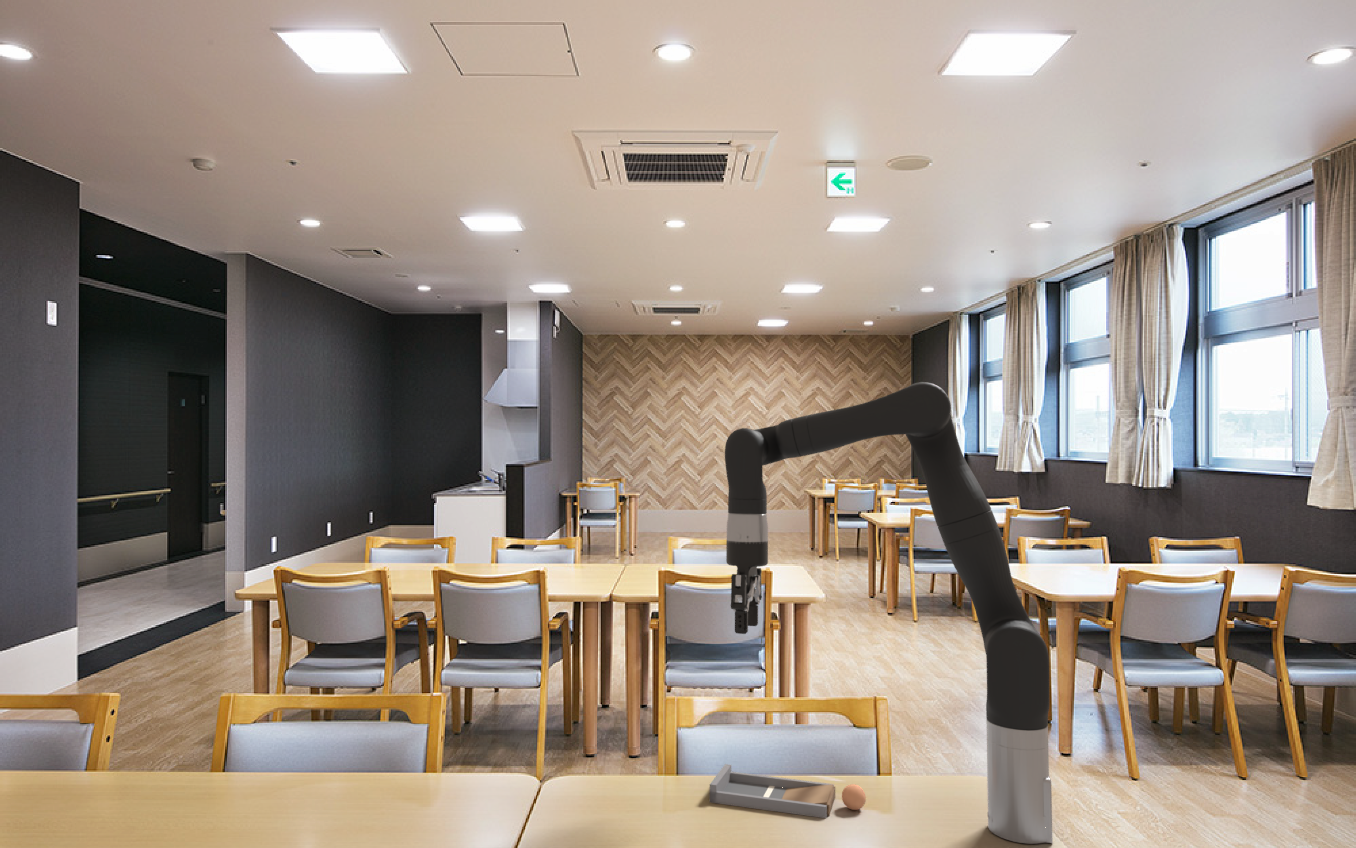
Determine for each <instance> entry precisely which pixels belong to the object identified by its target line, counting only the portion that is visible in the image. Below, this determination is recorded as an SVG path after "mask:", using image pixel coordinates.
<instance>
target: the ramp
mask: <svg viewBox="0 0 1356 848" xmlns="http://www.w3.org/2000/svg"><path fill="white" fill-rule="evenodd" d="M830 784H831V785H820V786H809V787H798V788H788V789H786V791H785V793H784V795H783V797H782V799H784V800H791V801H799V802H806V803H814V804H822V805H827V816H828V817H830V814H831V812H832V809H833V807H834V806H833V805H834V803H835V801H836V800H835V799H836V786H835V785H834V786H833V784H834V783H830Z"/></svg>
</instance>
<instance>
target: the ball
mask: <svg viewBox="0 0 1356 848" xmlns="http://www.w3.org/2000/svg"><path fill="white" fill-rule="evenodd" d="M866 798H867V796H866V793H865V791H864V789H863V788H862V787H861V786H860V785H858V784H853V783H851V784H847V785H846V786H845V787H844V788H843V790H842V792H841V799H842V803H843V804H844V805H845V807H846V808H847V809H849V810H851V811H858V810H860V809H862V808H863V807H864V805H865V804H866V800H867V799H866Z"/></svg>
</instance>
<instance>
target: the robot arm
mask: <svg viewBox="0 0 1356 848" xmlns="http://www.w3.org/2000/svg"><path fill="white" fill-rule="evenodd" d="M896 435H897V436H898V435H905V436H906V438H907V440H908V442H909V444H910V446H911V447H912V449H913V452H914V454H915V456H916V459H917V461H918V462H919V465H920V469H921V470H922V474H923V478H924V481H925V485H926V491H927V497H928V499H929V503H930V506H931V511H932V513H933V514H932V515H933V517H934V520H935V523H936V527H937V529H938V531H939V534H940V536H941V539H942V542H943V545H944V546H945V549H946V552H947V555H948V556H949V559H950V560H951V562H952V565H953V567H954V568H955V571H956V573H957V574H958V576H959V578H960V579H961V581H962V583H963V585H964V587H965V588H966V591H967V592H968V594H969V597H970V599H971V602H972V604H973V607H974V610H975V614H976V617H977V620H978V621H977V622H978V623H979V628H980V632H981V637H982V640H983V648H984V651H985V656H986V658H985V659H986V703H985V707H986V708H985V711H986V713H985V715H986V716H985V717H986V718H985V719H986V720H985V721H986V724H985V725H986V767H987V768H986V774H987V775H986V778H987V779H986V781H987V783H986V784H987V785H986V786H987V827H988V830H989V832H991V833H992V834H994V835H995V836H997V837H999V838H1001V839H1004V840H1007V841H1010V842H1014V843H1018V844H1019V843H1021V844H1028V845H1029V844H1030V845H1033V844H1042V843H1048V844H1052V843H1053V842H1054V841H1053V802H1052V801H1053V799H1052V779H1051V778H1050V762H1049V760H1050V758H1049V757H1050V755H1049V711H1050V657H1049V650H1048V647H1047V645H1046V642H1045V640H1044V639H1043V638H1042V636H1041V634H1040V633H1039V632H1038V630H1037V629H1036V627H1035V626H1034V624H1033V622H1032V620H1031V619H1030V617H1029V615H1028V613H1027V611H1026V609H1025V607H1024V605H1023V602H1022V601H1021V598H1020V597H1019V595H1018V592H1017V590H1016V588H1015V585H1014V582H1013V577H1012V574H1011V569H1010V564H1009V560H1008V556H1007V555H1008V554H1007V550H1006V547H1005V543H1004V540H1003V536H1002V534H1001V530H1000V528H999V525H998V523H997V520H996V518H995V515H994V513H993V510H992V508H991V506H990V503H989V500H988V499H987V496H986V494H985V493H984V491H983V489H982V487H981V485H980V483H979V482H978V479H977V477H976V476H975V475H974V473H973V471H972V469H971V467H970V466H969V465H968V463H967V460H966V458H965V456H964V453H963V452H962V450H961V447H960V443H959V439H958V436H957V434H956V430H955V426H954V422H953V417H952V404H951V400H950V398H949V396H948V394H947V393H946V391H945V390H944V389H943V388H942V387H940V386H938V385H936V384H934V383H931V382H925V381H920V382H919V381H918V382H915V383H912V384H910V385H909V386H907V387H904V388H901V389H899V390H897V391H895V392H893V393H890V394H887V395H885V396H881V397H880V398H876V399H873V400H870V401H866V402H863V403H859V404H854V405H853V406H852V405H851V406H846V407H842V408H837V409H831V410H827V411H822V412H817V413H812V414H807V415H806V414H805V415H802V416H799V417H795V418H789V419H786V420H784V421H783V420H782V422H779V424H776V425H772V426H765V427H763V428H762V427H761V428H756V429H752V428H745V427H741V428H738V429H736V430H733V431H732V432H731V433H730V434H729V436H728V437H727V439H726V442H725V447H724V463H725V471H726V478H727V479H726V480H727V484H728V494H727V495H728V497H727V498H728V499H727V500H728V501H727V513H728V514H727V521H726V548H725V549H726V550H725V551H726V552H725V554H726V556H725V557H726V558H725V559H726V560H725V561H726V564H727V565H729V566H733V567H736V569H737V570H736V573H733V574H731V576H730V579H731V588H730V590H731V591H730V593H731V594H730V609H731V610H733V612H734V632H735V634H739V635H746V634H748V633H749V632H748V631H749V627H757V626H758V625H759V605H760V603H761V600H762V598H763V596H762V568H761V567H765V566H767V565H768V563H769V524H768V515H767V512H768V511H767V510H768V509H767V508H768V506H767V504H768V503H767V501H768V498H767V496H768V495H767V488H766V485H765V483H764V481H763V477H764V476H763V466H766V465H771V464H774V463H777V462H780V461H783V460H787V459H793V458H800V457H801V458H802V457H806V456H811V455H814V454H820V453H823V452H828V451H831V450H835V449H838V448H841V447H844V446H848V445H851V444H854V443H857V442H861V441H865V440H868V439H872V438H878V437H885V436H896ZM1045 827H1046V828H1045Z"/></svg>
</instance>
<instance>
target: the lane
mask: <svg viewBox="0 0 1356 848" xmlns="http://www.w3.org/2000/svg"><path fill="white" fill-rule="evenodd" d="M709 783H710V784H709V803H712V804H720V805H727V806H735V807H741V808H748V809H757V810H763V811H770V812H771V811H772V812H776V813H777V812H779V813H786V814H793V815H798V816H799V815H800V816H806V817H807V816H808V817H815V818H822V819H827V818H828V817H827V805H822V804H814V803H806V802H799V801H791V800H784V799H782V797H783V795H784V793H785V791H786V789H788V788H798V787H809V786H820V785H831V784H833V786H834V787H835V784H834V783H826V782H819V781H812V780H802V779H795V778H794V779H793V778H786V777H785V778H784V777H779V776H770V775H763V774H753V773H746V772H737V771H732V764H728V763H727V764H726V763H725V764H724V765H723V766H722V767H721V769H720V770H719V771H718V772H717V774H716V775H715V777H714V778H713V780H712V781H711V782H709ZM782 787H783V788H782Z"/></svg>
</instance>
